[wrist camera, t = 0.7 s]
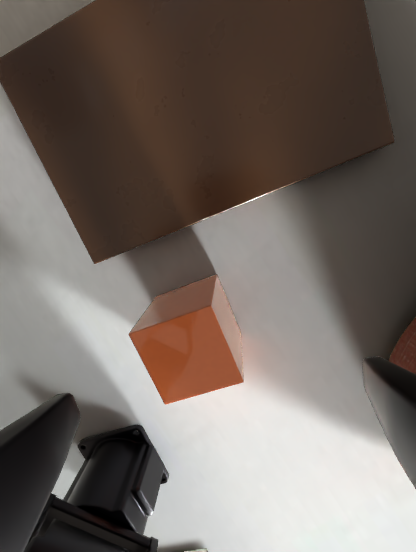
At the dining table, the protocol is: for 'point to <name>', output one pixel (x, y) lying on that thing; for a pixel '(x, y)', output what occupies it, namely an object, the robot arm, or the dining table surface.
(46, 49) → the board
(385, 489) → the dining table surface
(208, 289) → the terracotta block
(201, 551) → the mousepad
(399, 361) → the planter
